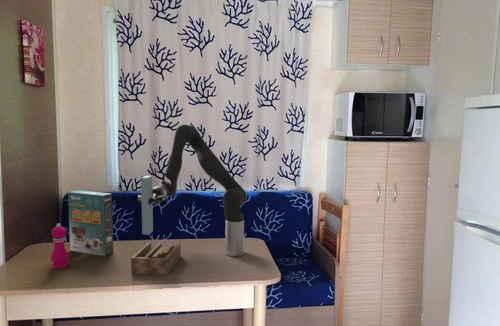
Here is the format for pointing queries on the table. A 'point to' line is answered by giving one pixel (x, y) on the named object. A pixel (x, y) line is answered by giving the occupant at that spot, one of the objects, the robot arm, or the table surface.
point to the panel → (146, 205)
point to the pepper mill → (59, 248)
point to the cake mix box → (90, 222)
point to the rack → (154, 260)
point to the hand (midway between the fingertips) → (145, 202)
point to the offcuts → (163, 251)
